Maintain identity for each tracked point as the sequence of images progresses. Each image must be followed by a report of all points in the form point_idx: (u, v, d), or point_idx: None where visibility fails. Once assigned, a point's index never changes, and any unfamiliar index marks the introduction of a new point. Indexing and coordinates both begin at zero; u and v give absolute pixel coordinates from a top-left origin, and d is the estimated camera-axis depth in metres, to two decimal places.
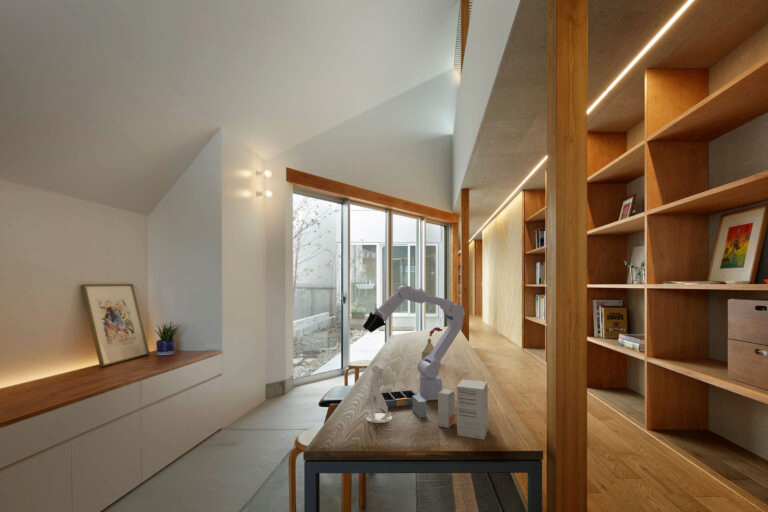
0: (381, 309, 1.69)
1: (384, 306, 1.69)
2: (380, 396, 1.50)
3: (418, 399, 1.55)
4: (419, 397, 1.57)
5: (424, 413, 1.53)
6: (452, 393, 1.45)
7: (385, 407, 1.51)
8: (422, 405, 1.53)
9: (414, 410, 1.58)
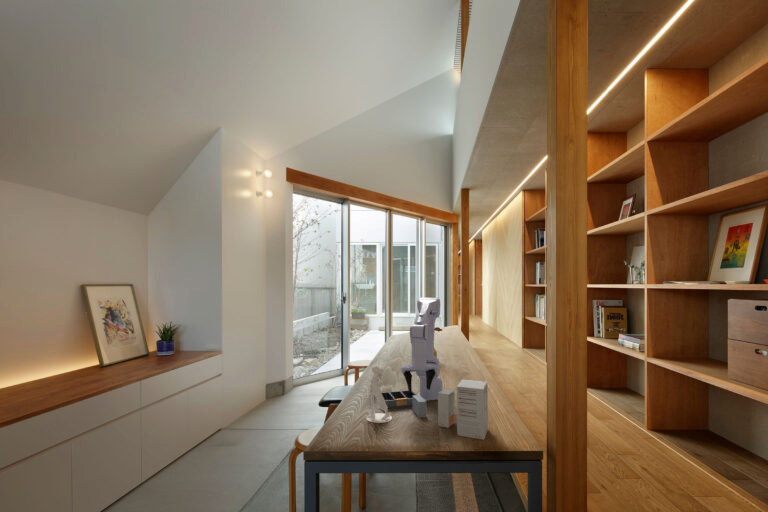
0: (425, 364, 1.55)
1: (424, 360, 1.55)
2: (380, 396, 1.50)
3: (418, 399, 1.55)
4: (419, 397, 1.57)
5: (424, 413, 1.53)
6: (452, 393, 1.45)
7: (385, 407, 1.51)
8: (422, 405, 1.53)
9: (414, 410, 1.58)
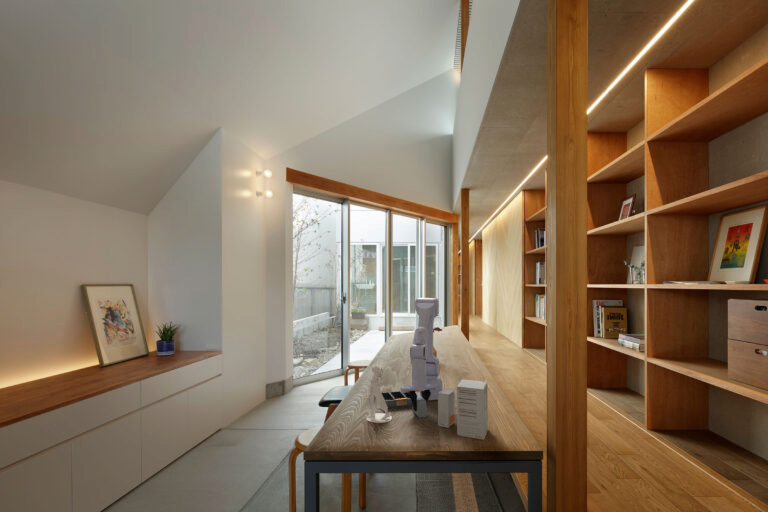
0: (425, 384, 1.55)
1: (425, 380, 1.55)
2: (380, 396, 1.50)
3: (418, 399, 1.55)
4: (419, 397, 1.57)
5: (424, 413, 1.53)
6: (452, 393, 1.45)
7: (385, 407, 1.51)
8: (422, 405, 1.53)
9: None
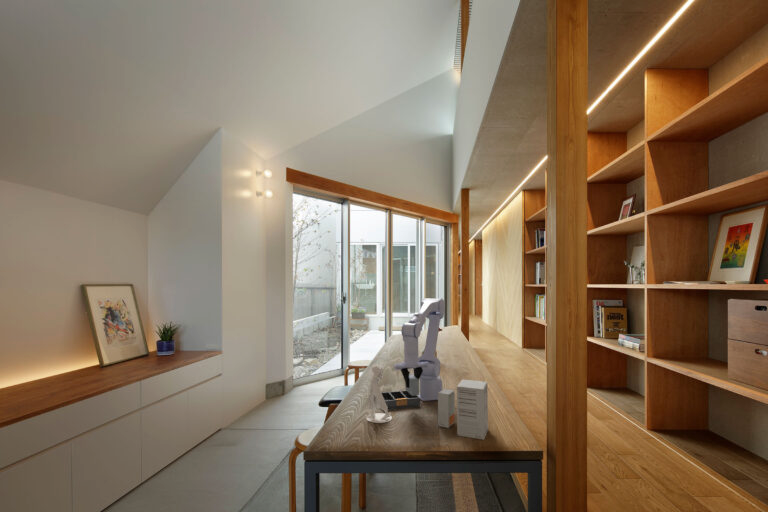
0: (417, 362, 1.59)
1: (417, 357, 1.59)
2: (380, 396, 1.50)
3: (411, 378, 1.59)
4: (412, 376, 1.61)
5: (417, 391, 1.57)
6: (452, 393, 1.45)
7: (385, 407, 1.51)
8: (415, 383, 1.56)
9: (407, 388, 1.61)
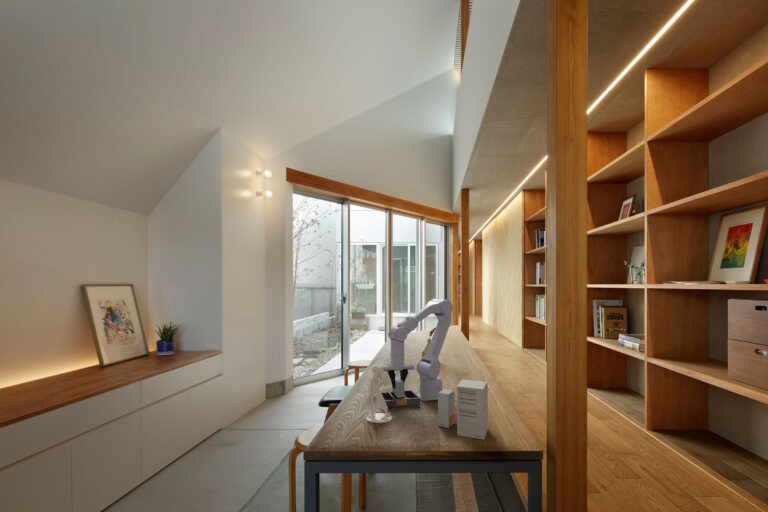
0: (403, 364, 1.67)
1: (403, 360, 1.67)
2: (380, 396, 1.50)
3: (397, 380, 1.66)
4: (399, 379, 1.68)
5: (402, 393, 1.64)
6: (452, 393, 1.45)
7: (385, 407, 1.51)
8: (400, 386, 1.63)
9: (393, 390, 1.68)
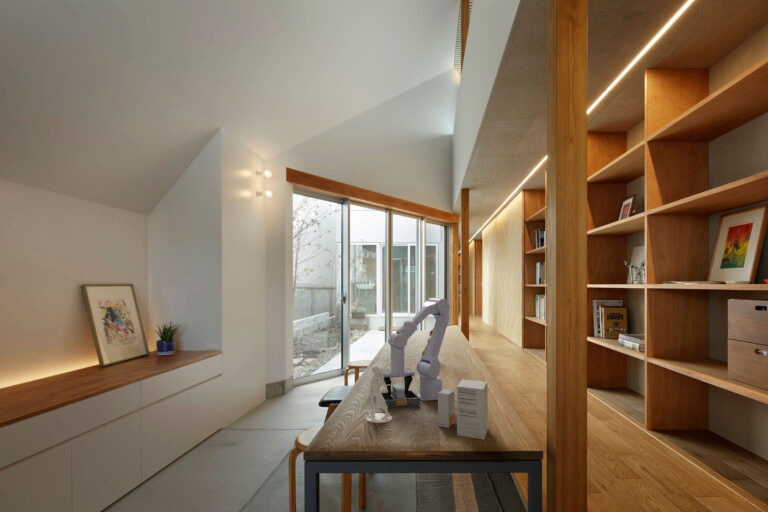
0: (403, 371, 1.67)
1: (403, 367, 1.66)
2: (380, 396, 1.50)
3: (397, 388, 1.66)
4: (398, 386, 1.68)
5: None
6: (452, 393, 1.45)
7: (385, 407, 1.51)
8: (400, 393, 1.64)
9: None
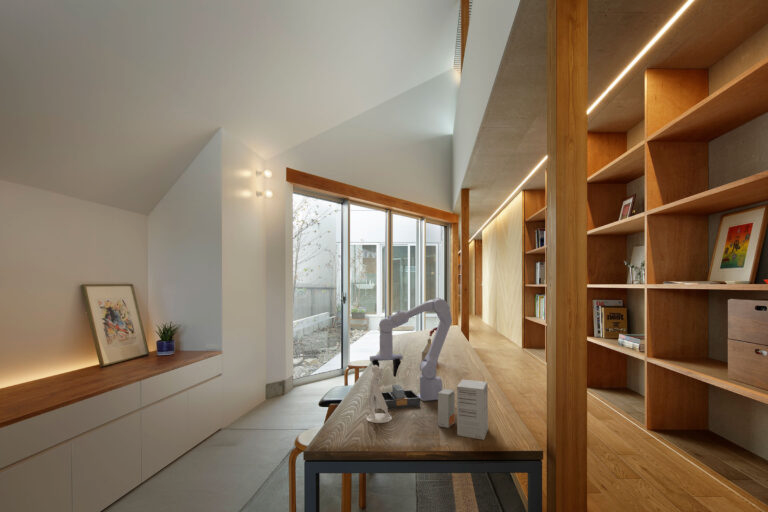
0: (391, 354, 1.74)
1: (391, 350, 1.74)
2: (380, 396, 1.50)
3: (397, 388, 1.66)
4: (398, 386, 1.68)
5: None
6: (452, 393, 1.45)
7: (385, 407, 1.51)
8: (400, 393, 1.64)
9: None
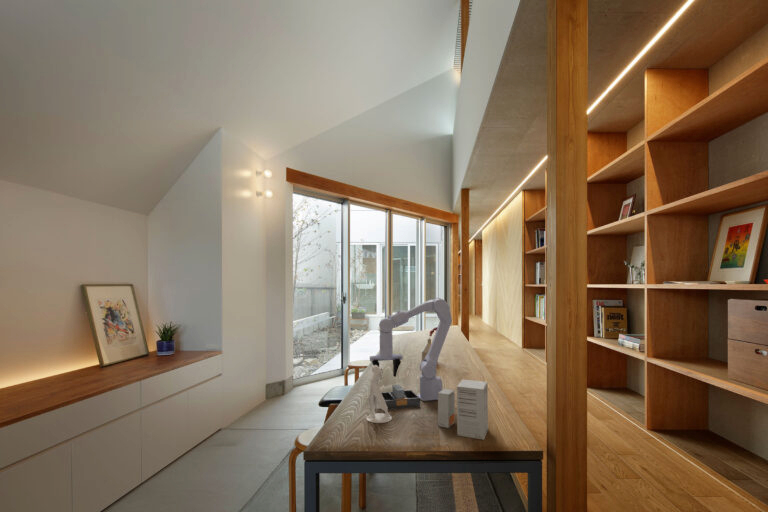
0: (391, 354, 1.74)
1: (391, 350, 1.74)
2: (380, 396, 1.50)
3: (397, 388, 1.66)
4: (398, 386, 1.68)
5: None
6: (452, 393, 1.45)
7: (385, 407, 1.51)
8: (400, 393, 1.64)
9: None
